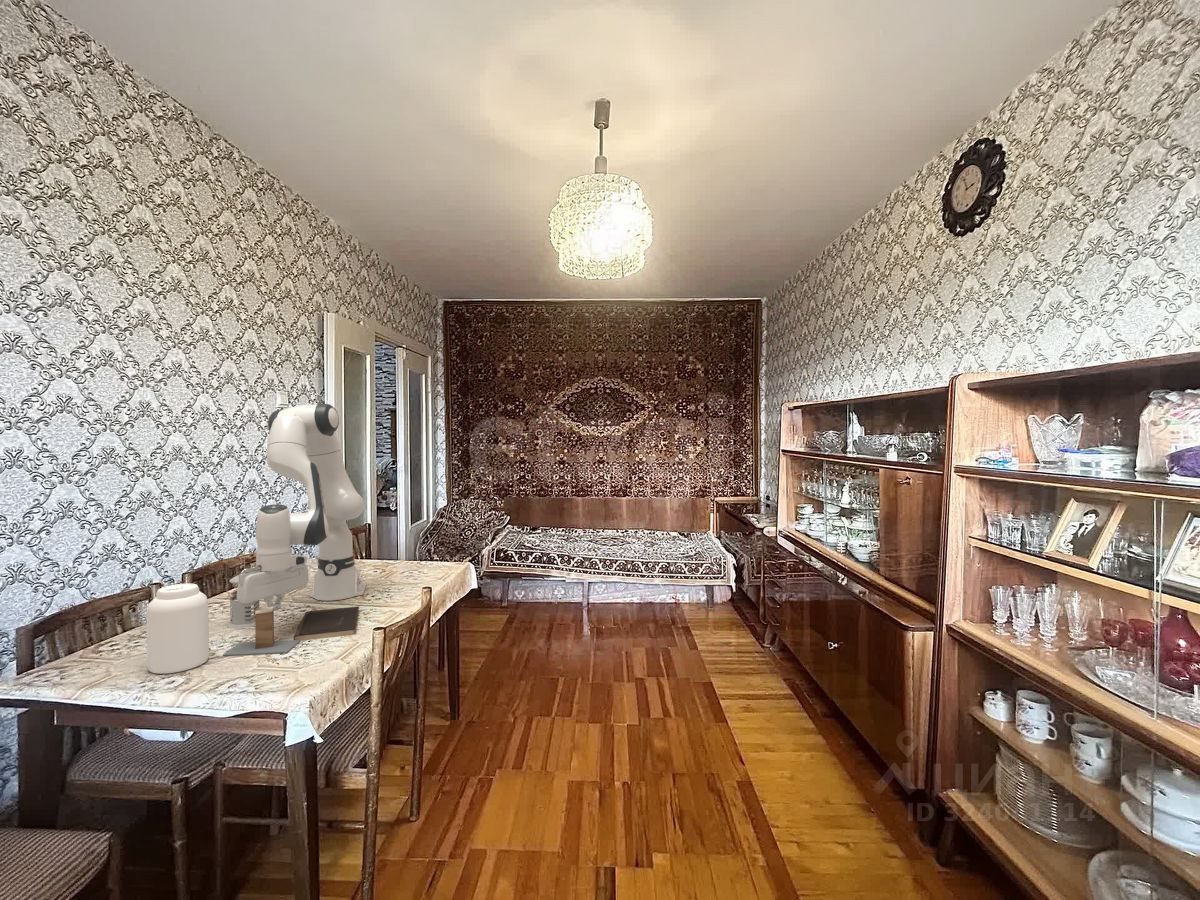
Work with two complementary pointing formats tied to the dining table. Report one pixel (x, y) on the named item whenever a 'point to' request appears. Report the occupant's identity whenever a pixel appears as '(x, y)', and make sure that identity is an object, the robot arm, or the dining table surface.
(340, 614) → the hardcover book
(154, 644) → the white lidded jar
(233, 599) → the french press
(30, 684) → the dining table surface
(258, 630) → the walnut block
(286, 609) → the dining table surface
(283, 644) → the rubber mat
